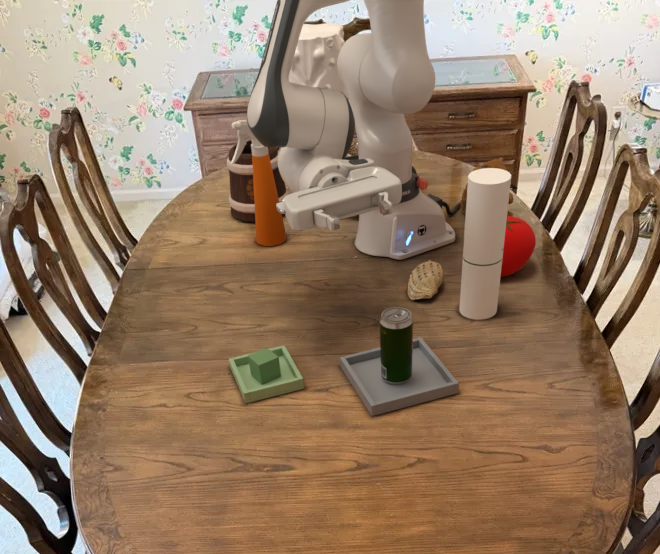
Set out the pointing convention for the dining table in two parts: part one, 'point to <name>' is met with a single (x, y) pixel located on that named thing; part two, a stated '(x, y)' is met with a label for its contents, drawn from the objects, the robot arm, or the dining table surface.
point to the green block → (264, 365)
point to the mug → (249, 182)
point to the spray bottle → (261, 188)
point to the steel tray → (421, 387)
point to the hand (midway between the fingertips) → (362, 217)
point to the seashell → (425, 280)
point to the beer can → (396, 345)
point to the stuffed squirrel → (490, 164)
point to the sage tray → (278, 386)
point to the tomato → (517, 245)
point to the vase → (318, 57)
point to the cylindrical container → (484, 241)
